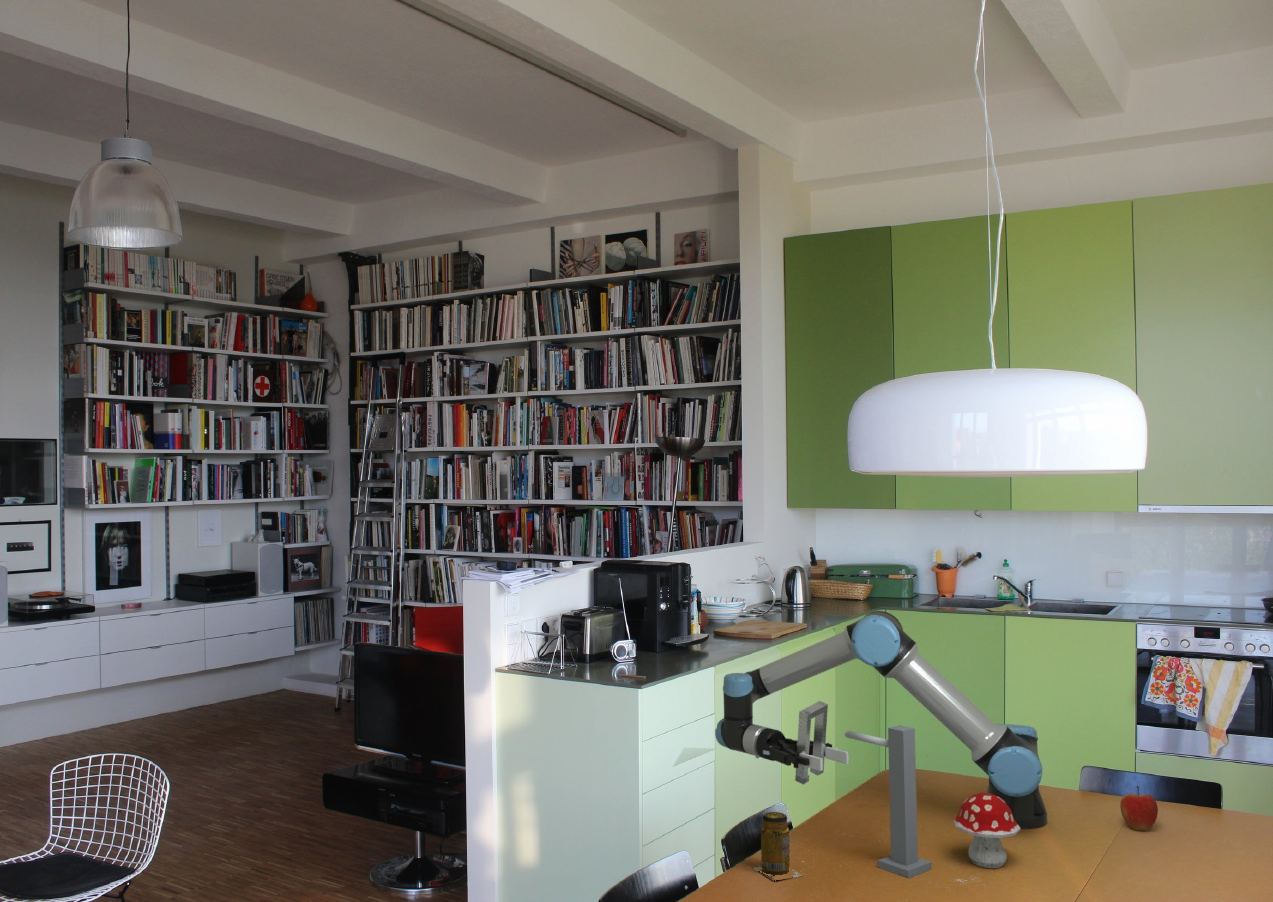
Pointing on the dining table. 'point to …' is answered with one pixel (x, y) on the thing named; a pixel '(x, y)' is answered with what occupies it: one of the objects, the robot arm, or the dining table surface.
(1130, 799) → the apple
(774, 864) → the condiment
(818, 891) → the dining table surface
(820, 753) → the c link
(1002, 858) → the decorative mushroom
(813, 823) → the dining table surface
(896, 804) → the hook stand
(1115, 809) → the dining table surface
